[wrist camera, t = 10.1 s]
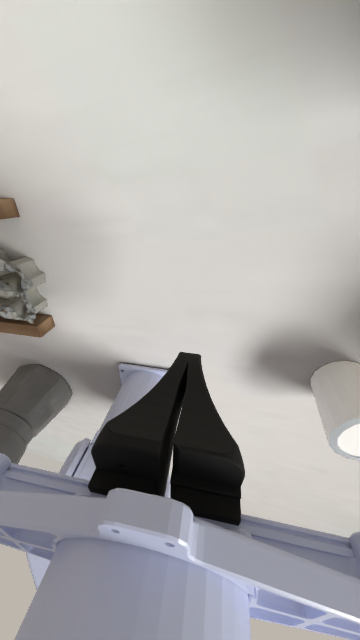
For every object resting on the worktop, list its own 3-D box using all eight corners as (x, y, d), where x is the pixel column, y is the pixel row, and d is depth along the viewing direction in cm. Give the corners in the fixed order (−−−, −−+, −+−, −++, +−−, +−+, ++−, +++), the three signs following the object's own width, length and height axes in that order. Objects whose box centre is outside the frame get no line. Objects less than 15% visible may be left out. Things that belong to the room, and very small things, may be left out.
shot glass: (312, 405, 27) (337, 466, 21) (297, 366, 24) (320, 423, 18) (379, 393, 24) (429, 459, 18) (370, 348, 22) (425, 408, 16)
